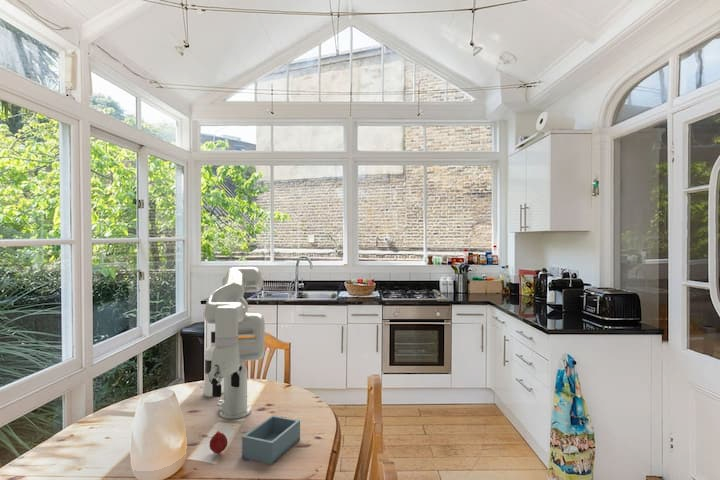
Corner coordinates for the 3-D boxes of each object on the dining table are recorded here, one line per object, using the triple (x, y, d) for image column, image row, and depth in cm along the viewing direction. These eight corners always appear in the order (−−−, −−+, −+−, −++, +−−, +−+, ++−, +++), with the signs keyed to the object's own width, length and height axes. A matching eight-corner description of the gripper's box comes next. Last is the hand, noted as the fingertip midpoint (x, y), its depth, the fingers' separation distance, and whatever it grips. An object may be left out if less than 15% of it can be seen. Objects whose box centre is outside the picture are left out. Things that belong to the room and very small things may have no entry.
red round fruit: (230, 451, 138) (231, 428, 138) (220, 459, 133) (220, 435, 133) (217, 448, 140) (217, 425, 140) (205, 456, 135) (205, 432, 135)
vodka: (204, 391, 194) (205, 329, 195) (224, 389, 197) (224, 328, 197) (201, 398, 185) (202, 333, 186) (222, 396, 188) (223, 332, 188)
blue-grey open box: (242, 457, 134) (242, 436, 134) (272, 433, 151) (272, 415, 151) (272, 464, 130) (272, 443, 130) (300, 439, 147) (300, 420, 147)
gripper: (233, 335, 147) (233, 382, 147) (200, 346, 131) (199, 399, 131) (250, 337, 145) (250, 384, 144) (218, 348, 128) (218, 402, 128)
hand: (226, 391), depth 137 cm, fingers open, 9 cm apart
